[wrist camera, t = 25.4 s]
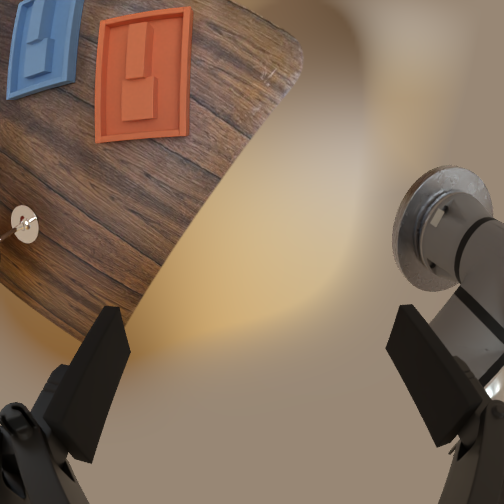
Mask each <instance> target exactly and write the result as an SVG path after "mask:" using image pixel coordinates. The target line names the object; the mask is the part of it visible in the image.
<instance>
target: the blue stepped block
mask: <svg viewBox="0 0 504 504" xmlns="http://www.w3.org/2000/svg"><path fill="white" fill-rule="evenodd" d="M55 6H56V1H54V0H36V1H34V4H33V9H32V13H31V19H30V24H29V30H28V36H27V44H29V45H27V48H26V56H25V66H24V78H26V79H33V78H36V77H39V76H42V75H45V74H48V73H51V72H52V62H53V51H54V42H55V40H54V39H51V38H50V37H51V30H52V23H53V17H54V12H55Z"/></svg>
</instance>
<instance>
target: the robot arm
mask: <svg viewBox="0 0 504 504" xmlns="http://www.w3.org/2000/svg"><path fill="white" fill-rule="evenodd" d="M417 248H418V254H419V257H420V260H421V262H422V263H423V265H424V266H425V267H426V268H427V269H428V270H429V271H430V272H431V273H433V274H434V275H436V276H438V277H441V278H445V279H448V280H451V281H455V282H458V283H460V284H461V285H460V286H459V287H458V289H457V290H456V291H455V293H454V294H453V295H452V296H451V298H450V299H449V300H448V302H447V303H446V304H445V305H444V307H443V308H442V309H441V310H440V311H439V313H438V314H437V315H436V316H435V318H434V319H433V320H432V321H431V322H430V323H429V324H428V323H427V322H426V321H425V319H424V318H423V317H422V316H421V315H420V313H419V312H418V311H417V309H416V308H415V307H414V306H413V305H412V304H410V305H400V306H399V310H398V313H397V316H396V319H395V322H394V325H393V329H392V331H391V334H390V338H389V340H388V343H387V346H386V350H387V352H388V354H389V356H390V357H391V359H392V361H393V363H394V364H395V366H396V368H397V370H398V372H399V374H400V375H401V377H402V379H403V381H404V383H405V385H406V387H407V388H408V391H409V393H410V395H411V396H412V398H413V400H414V402H415V404H416V406H417V408H418V410H419V412H420V414H421V416H422V418H423V420H424V422H425V424H426V426H427V428H428V430H429V432H430V434H431V436H432V439H433V441H434V443H435V445H436V447H440V446H443V445H446V444H448V443H450V442H451V441H452V440H453V439H454V438H455V437H456V435H457V434H458V435H459V438H460V440H459V441H458V442H457V443H456V444H455V446H454V447H453V448H452V449H451V450H450V452H449V454H451V453H452V452H453V451H454V450H455V453H454V455H453V456H454V457H453V461H452V464H451V467H450V471H449V474H448V477H447V480H446V483H445V486H444V489H443V492H442V494H441V497H440V500H439V503H438V504H504V223H502V222H500V221H498V220H496V219H494V218H493V217H492V216H491V215H490V213H489V212H488V211H487V210H486V209H485V207H484V206H483V205H482V204H481V203H480V202H479V201H478V200H477V199H476V198H475V197H474V196H472V195H470V194H468V193H466V192H463V191H458V190H454V191H449V192H447V193H444V194H443V195H441V196H440V197H438V198H437V199H436V200H435V201H434V202H433V203H432V204H431V205H430V207H429V208H428V210H427V211H426V213H425V215H424V217H423V219H422V221H421V224H420V227H419V231H418V238H417ZM130 353H131V351H130V348H129V344H128V340H127V337H126V333H125V329H124V325H123V321H122V317H121V313H120V308H119V307H112V306H104V308H103V309H102V311H101V313H100V314H99V316H98V317H97V319H96V321H95V322H94V324H93V326H92V327H91V329H90V330H89V332H88V334H87V336H86V337H85V339H84V341H83V342H82V344H81V346H80V347H79V349H78V351H77V353H76V354H75V356H74V358H73V360H72V362H71V363H70V365H63V364H61V365H60V366H59V367H57V368H56V369H55V370H54V371H53V372H52V373H51V375H50V377H49V379H48V381H47V383H46V384H45V386H44V388H43V390H42V391H41V393H40V395H39V397H38V399H37V401H36V403H35V404H34V406H33V408H32V410H31V412H29V410H28V409H27V407H26V406H24V405H23V404H22V403H17V402H15V403H10V404H8V405H6V406H5V407H4V408H3V409H2V410H1V412H0V424H1V425H2V426H0V504H89V502H88V500H87V498H86V497H85V495H84V493H83V491H82V489H81V487H80V485H79V483H78V481H77V479H76V477H75V475H74V473H73V470H72V468H71V466H70V464H69V462H68V460H67V459H66V457H67V455H68V452H69V453H70V454H71V455H72V457H73V458H74V459H76V460H80V461H84V462H87V463H91V464H92V461H93V458H94V455H95V451H96V448H97V445H98V442H99V439H100V436H101V433H102V430H103V427H104V424H105V420H106V418H107V415H108V412H109V409H110V406H111V403H112V401H113V398H114V395H115V392H116V390H117V387H118V384H119V381H120V379H121V376H122V373H123V371H124V368H125V366H126V363H127V360H128V358H129V355H130Z"/></svg>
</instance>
